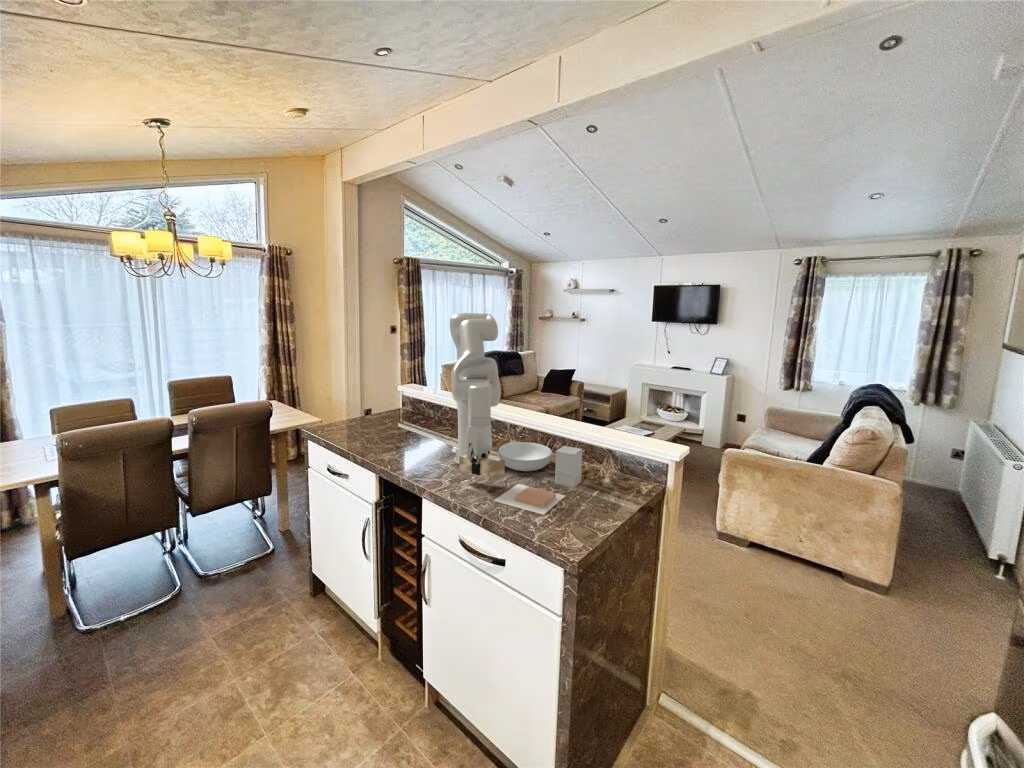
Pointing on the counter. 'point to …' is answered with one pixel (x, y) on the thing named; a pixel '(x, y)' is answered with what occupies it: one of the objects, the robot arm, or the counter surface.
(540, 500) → the tile
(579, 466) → the supplement box
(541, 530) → the counter surface
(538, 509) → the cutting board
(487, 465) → the tall beige plank
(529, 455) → the serving bowl
